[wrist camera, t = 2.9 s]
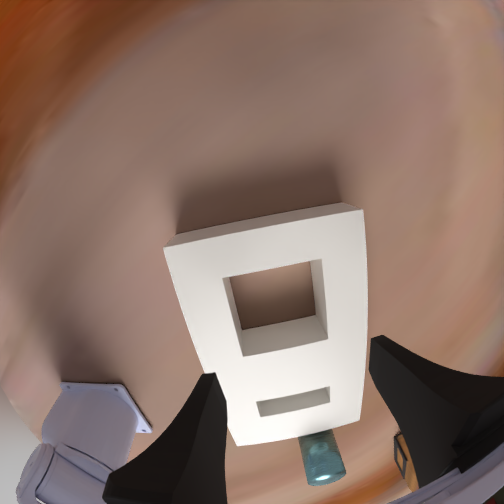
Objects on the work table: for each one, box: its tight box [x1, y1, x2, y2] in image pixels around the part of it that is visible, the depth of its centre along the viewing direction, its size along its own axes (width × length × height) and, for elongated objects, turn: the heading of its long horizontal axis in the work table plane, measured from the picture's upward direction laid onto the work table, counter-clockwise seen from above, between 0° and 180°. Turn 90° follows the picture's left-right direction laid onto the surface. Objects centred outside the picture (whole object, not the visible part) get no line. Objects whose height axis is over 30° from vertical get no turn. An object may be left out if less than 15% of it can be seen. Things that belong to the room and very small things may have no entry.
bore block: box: [163, 202, 368, 446], centre depth 20 cm, size 12×20×4 cm, turn 11°
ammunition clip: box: [394, 433, 419, 492], centre depth 24 cm, size 11×2×12 cm, turn 23°
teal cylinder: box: [298, 429, 346, 486], centre depth 23 cm, size 4×4×7 cm
